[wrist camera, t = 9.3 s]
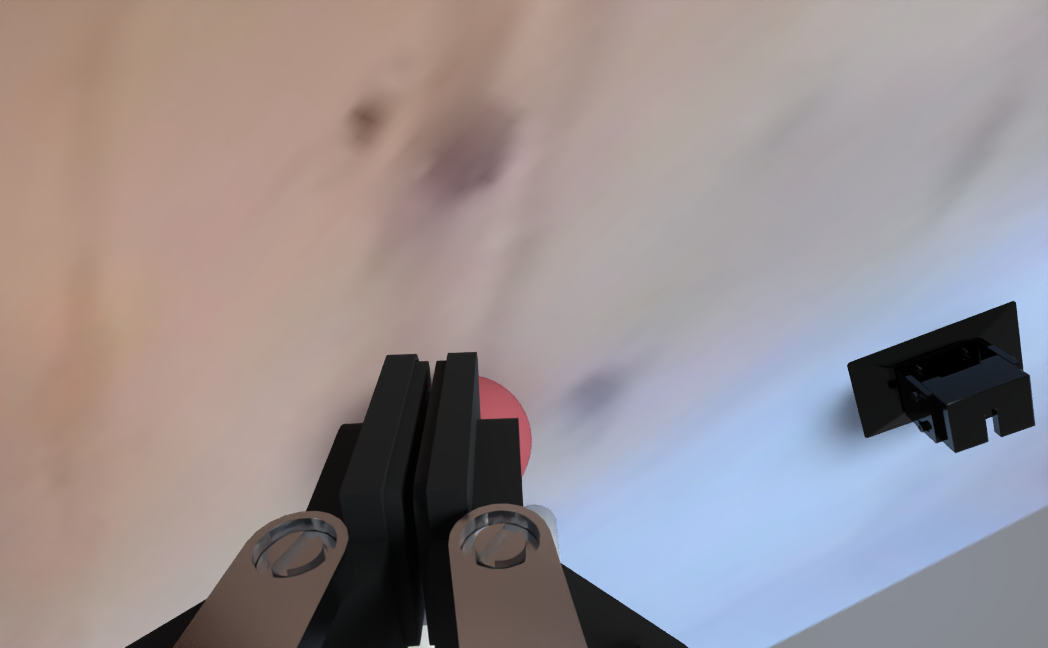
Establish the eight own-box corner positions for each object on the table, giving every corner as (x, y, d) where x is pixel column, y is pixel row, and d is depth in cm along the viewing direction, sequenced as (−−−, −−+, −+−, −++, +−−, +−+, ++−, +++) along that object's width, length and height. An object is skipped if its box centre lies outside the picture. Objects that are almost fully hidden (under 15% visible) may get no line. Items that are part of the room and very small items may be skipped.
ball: (405, 504, 31) (422, 383, 33) (527, 516, 31) (538, 393, 32) (371, 502, 25) (394, 356, 27) (522, 516, 25) (535, 367, 27)
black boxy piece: (823, 460, 35) (867, 518, 31) (792, 351, 32) (837, 398, 28) (1059, 377, 33) (1139, 427, 29) (1048, 254, 30) (1136, 289, 26)
